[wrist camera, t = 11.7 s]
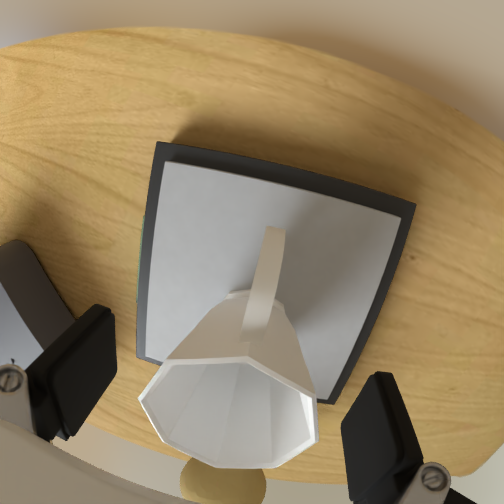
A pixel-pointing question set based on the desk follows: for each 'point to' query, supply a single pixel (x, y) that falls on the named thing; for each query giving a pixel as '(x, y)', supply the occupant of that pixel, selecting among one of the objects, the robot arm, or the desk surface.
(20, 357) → the streaming box
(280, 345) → the cup
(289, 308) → the scale
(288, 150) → the desk surface
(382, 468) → the robot arm
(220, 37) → the desk surface
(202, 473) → the light bulb
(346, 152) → the desk surface
